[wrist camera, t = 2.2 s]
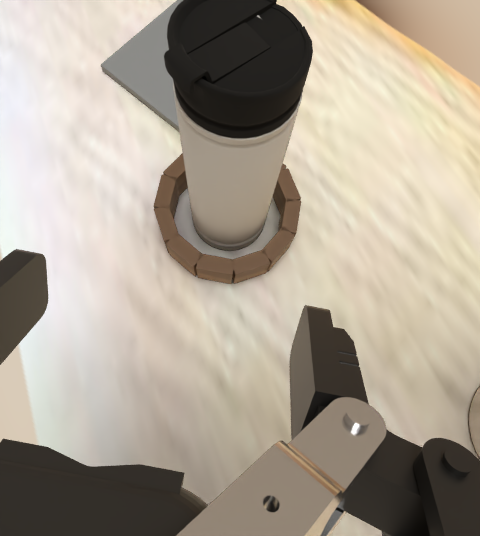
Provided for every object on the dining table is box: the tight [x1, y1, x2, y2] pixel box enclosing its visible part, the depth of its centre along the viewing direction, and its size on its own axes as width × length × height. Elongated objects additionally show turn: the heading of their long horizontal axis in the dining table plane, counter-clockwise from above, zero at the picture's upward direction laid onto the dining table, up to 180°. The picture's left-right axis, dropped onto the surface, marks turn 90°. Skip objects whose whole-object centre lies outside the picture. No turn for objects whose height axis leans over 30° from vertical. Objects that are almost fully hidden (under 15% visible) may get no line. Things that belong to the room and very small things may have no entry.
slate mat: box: [101, 0, 183, 132], centre depth 40 cm, size 13×13×1 cm
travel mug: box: [164, 0, 313, 250], centre depth 26 cm, size 6×7×20 cm
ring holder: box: [154, 153, 301, 284], centre depth 35 cm, size 11×11×3 cm
